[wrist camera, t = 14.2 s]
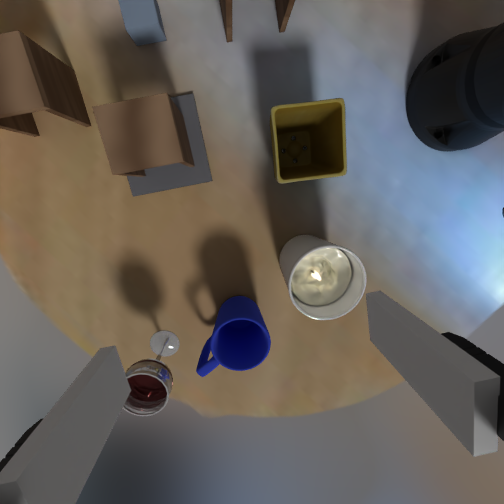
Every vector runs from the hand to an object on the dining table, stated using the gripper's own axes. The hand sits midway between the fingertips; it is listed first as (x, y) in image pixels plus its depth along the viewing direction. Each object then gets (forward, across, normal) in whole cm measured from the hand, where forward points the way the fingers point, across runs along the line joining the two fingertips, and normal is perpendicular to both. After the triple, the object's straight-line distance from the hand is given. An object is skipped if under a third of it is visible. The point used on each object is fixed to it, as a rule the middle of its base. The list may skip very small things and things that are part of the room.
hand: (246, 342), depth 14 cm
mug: (+31, -4, -14) cm, 34 cm away
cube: (+31, -6, +30) cm, 43 cm away
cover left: (+31, -21, +23) cm, 44 cm away
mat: (+31, -8, +15) cm, 35 cm away
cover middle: (+30, -8, +15) cm, 35 cm away
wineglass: (+31, -16, -16) cm, 38 cm away
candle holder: (+31, +10, -6) cm, 33 cm away
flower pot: (+31, +11, +11) cm, 35 cm away
